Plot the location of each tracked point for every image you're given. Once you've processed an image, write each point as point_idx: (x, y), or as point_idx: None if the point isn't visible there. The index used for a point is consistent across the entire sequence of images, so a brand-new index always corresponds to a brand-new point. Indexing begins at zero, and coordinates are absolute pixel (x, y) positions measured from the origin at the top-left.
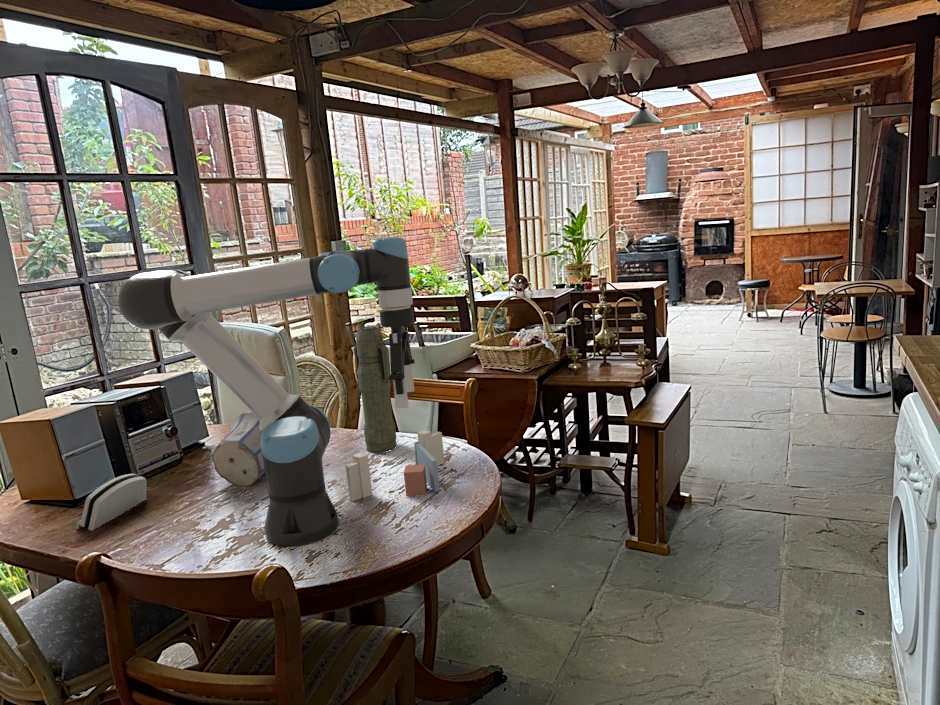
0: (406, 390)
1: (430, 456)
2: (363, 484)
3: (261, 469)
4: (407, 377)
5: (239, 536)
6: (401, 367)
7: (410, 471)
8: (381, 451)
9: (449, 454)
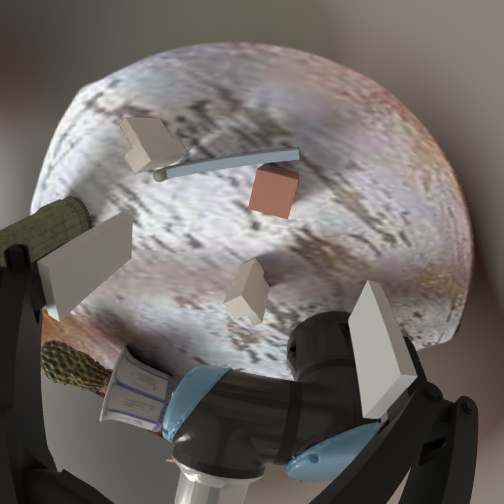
0: (395, 327)
1: (264, 157)
2: (259, 280)
3: (167, 382)
4: (92, 262)
5: None
6: (475, 446)
7: (286, 205)
8: (88, 222)
9: (123, 109)
